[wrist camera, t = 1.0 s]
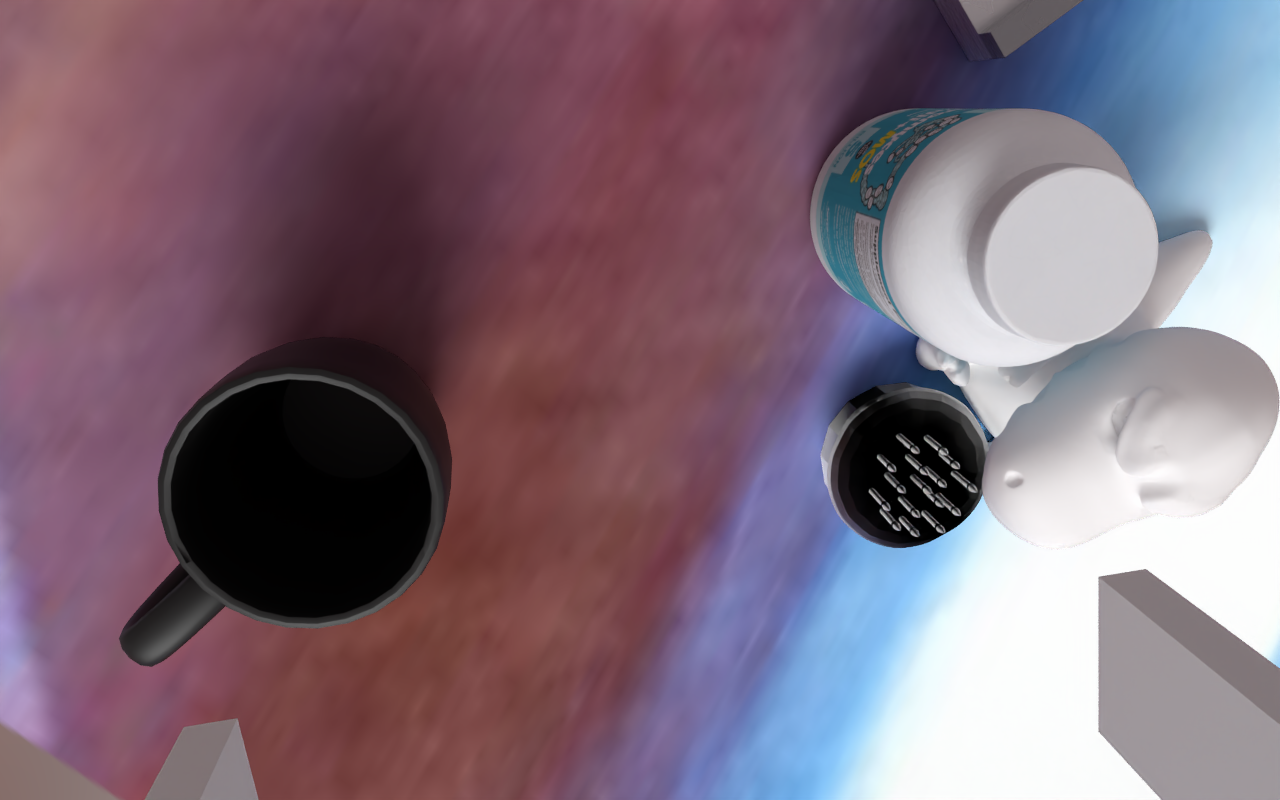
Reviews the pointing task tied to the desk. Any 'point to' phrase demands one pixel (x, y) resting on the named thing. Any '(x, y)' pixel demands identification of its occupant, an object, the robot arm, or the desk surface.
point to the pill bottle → (985, 230)
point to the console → (999, 23)
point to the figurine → (1061, 431)
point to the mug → (297, 494)
